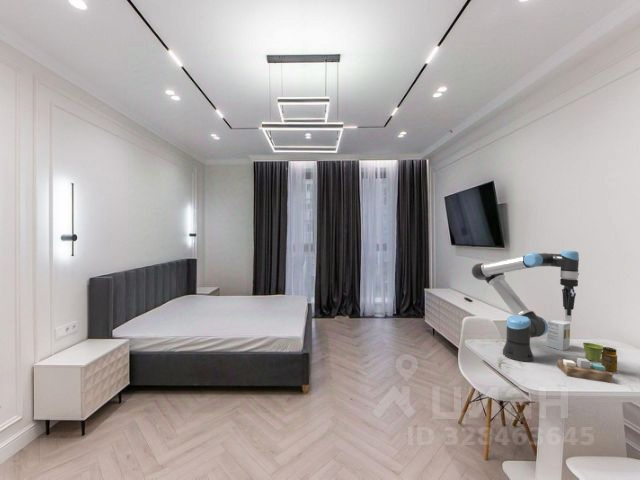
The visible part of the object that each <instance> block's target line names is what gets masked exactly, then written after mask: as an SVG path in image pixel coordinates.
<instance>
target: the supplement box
mask: <svg viewBox="0 0 640 480" xmlns="http://www.w3.org/2000/svg"><path fill="white" fill-rule="evenodd" d="M546 323H547V325H548V329H547V332H546V347H549V348H552V349H556V350H560V351H562V352H563V351H565V350H566V351H567V350H569V349H570V341H571V340H570V337H571V323H570V322H569V321H563V320H557V319H551V320H546Z"/></svg>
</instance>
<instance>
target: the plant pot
mask: <svg viewBox="0 0 640 480" xmlns="http://www.w3.org/2000/svg"><path fill="white" fill-rule="evenodd" d="M581 344H582V345H583V348H584V354H585V355H584V357H585V359H587V360H588V361H590V362H591V361H592V362H595V363H599V362H601V358H602V352H603V351H602V350H603V347H604V346H603V345H600V344H598V343H594V342H582V343H581Z"/></svg>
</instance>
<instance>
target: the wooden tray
mask: <svg viewBox="0 0 640 480" xmlns="http://www.w3.org/2000/svg"><path fill="white" fill-rule="evenodd" d="M574 362H575V363H576V367H571V366H565V365H564V364H563V359H557V368H558V369H559V370H560V371H561V372H562V373H563V374H564V375H566V377H570V378H571V377H573V378H578V379H586V380H591V381H597V382H603V383H604V382H605V383H609V384H610V383H611V384H612V383H613V374H611V373H609V372H608V371H607V370H605V371H599V370H594V369H593V368H592V367H591V363H590V369H585V368H580V367H578V366H577V361H574Z"/></svg>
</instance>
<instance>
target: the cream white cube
mask: <svg viewBox="0 0 640 480" xmlns="http://www.w3.org/2000/svg"><path fill="white" fill-rule="evenodd" d="M562 360H563V364H564V365H565V366H571V367H576V363H575V362H576V361H573V360H570V359H564V358H563V359H562Z"/></svg>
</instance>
